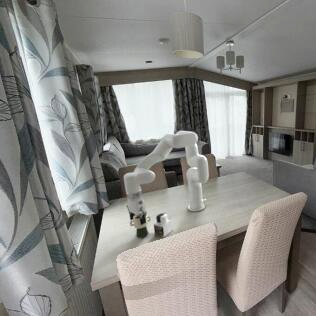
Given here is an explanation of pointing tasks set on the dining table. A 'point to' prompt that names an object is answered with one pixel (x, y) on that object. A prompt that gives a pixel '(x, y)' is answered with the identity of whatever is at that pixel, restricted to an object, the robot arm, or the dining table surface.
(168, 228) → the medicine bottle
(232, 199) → the dining table surface
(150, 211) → the dining table surface
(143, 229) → the character mug
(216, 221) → the dining table surface
